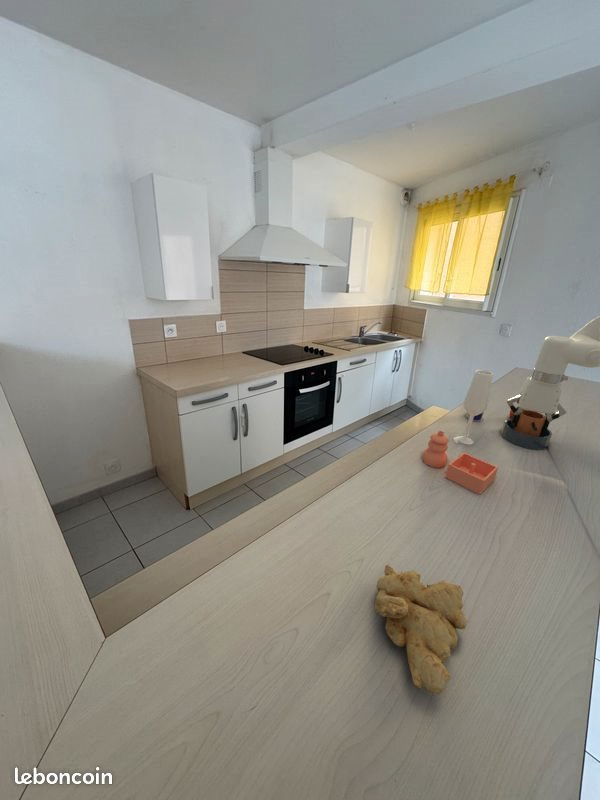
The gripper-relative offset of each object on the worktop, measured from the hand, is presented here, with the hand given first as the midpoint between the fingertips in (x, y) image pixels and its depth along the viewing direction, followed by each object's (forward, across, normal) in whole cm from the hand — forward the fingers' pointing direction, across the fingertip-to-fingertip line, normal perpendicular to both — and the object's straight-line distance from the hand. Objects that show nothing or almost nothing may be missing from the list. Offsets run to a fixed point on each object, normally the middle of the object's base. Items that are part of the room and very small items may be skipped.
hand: (527, 427), depth 106 cm
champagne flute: (+5, +18, +11) cm, 22 cm away
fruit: (+5, -1, -15) cm, 16 cm away
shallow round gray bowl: (+5, 0, 0) cm, 5 cm away
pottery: (+5, +21, +31) cm, 38 cm away
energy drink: (+5, +15, -9) cm, 18 cm away
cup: (+4, 0, +2) cm, 5 cm away
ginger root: (+5, +26, +80) cm, 84 cm away
